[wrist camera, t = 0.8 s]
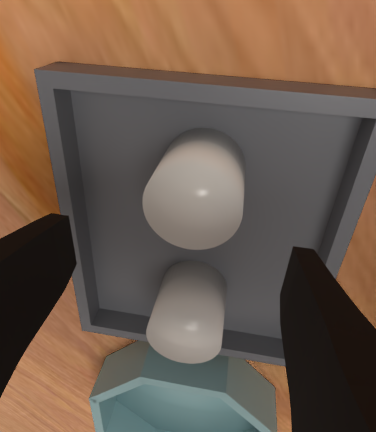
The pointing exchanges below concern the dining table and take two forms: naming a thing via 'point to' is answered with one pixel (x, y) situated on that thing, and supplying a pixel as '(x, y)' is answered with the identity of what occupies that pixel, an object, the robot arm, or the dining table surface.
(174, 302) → the pebble
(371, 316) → the dining table surface
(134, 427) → the bowl
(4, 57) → the dining table surface
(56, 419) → the dining table surface
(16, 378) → the dining table surface
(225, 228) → the pebble
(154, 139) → the parts tray
